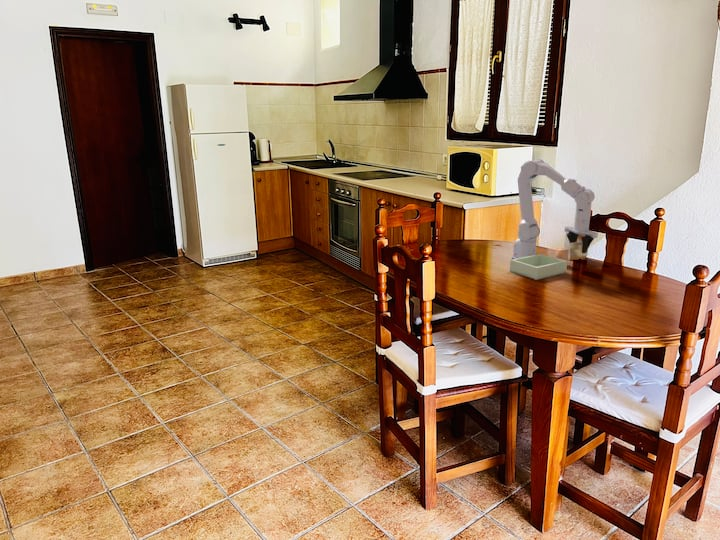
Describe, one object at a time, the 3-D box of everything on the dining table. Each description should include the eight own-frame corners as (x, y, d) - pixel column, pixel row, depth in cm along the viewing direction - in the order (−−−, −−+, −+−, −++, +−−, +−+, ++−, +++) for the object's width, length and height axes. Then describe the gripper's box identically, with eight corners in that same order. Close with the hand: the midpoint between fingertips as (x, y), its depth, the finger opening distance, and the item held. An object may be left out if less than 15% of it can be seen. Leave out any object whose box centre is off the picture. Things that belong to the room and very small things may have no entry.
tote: (509, 271, 226) (510, 259, 225) (539, 264, 235) (540, 253, 234) (536, 279, 215) (537, 267, 214) (566, 272, 224) (567, 261, 222)
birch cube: (569, 254, 228) (570, 242, 226) (577, 252, 230) (578, 241, 229) (579, 257, 224) (580, 245, 222) (587, 255, 226) (588, 243, 225)
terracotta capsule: (552, 264, 236) (554, 248, 234) (560, 262, 239) (561, 247, 237) (562, 267, 232) (563, 251, 230) (569, 265, 234) (571, 249, 232)
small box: (569, 260, 242) (572, 231, 238) (562, 256, 248) (565, 228, 244) (586, 259, 243) (589, 231, 239) (579, 255, 249) (582, 228, 245)
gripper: (561, 217, 227) (557, 249, 230) (591, 223, 215) (587, 256, 219) (572, 215, 230) (568, 246, 234) (602, 221, 218) (598, 254, 222)
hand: (578, 251), depth 227 cm, fingers closed on birch cube, 5 cm apart
